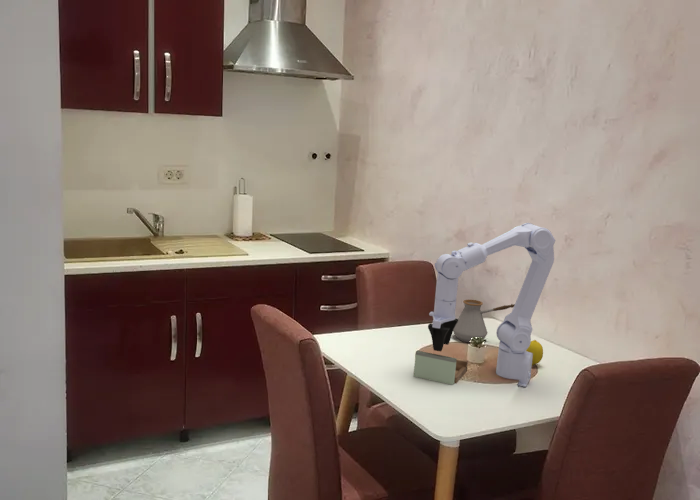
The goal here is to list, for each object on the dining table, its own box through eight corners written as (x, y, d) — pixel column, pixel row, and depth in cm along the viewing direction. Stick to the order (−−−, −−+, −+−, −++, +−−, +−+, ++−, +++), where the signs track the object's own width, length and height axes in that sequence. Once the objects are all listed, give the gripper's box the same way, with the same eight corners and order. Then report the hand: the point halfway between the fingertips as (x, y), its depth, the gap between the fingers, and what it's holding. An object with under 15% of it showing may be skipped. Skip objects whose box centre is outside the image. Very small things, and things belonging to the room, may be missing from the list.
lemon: (542, 369, 196) (545, 343, 194) (523, 367, 197) (526, 341, 196) (540, 363, 201) (543, 338, 200) (522, 361, 202) (525, 336, 201)
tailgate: (454, 383, 176) (456, 358, 175) (452, 384, 175) (455, 359, 174) (415, 374, 180) (417, 350, 179) (413, 376, 179) (415, 351, 178)
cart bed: (466, 375, 187) (467, 360, 186) (455, 388, 176) (457, 372, 176) (425, 367, 191) (427, 352, 191) (413, 379, 181) (414, 363, 180)
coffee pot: (447, 339, 219) (451, 295, 216) (458, 331, 229) (462, 289, 226) (511, 353, 209) (516, 307, 206) (519, 344, 219) (524, 300, 216)
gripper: (439, 291, 186) (434, 337, 189) (423, 302, 173) (418, 351, 175) (463, 295, 183) (459, 342, 186) (449, 306, 170) (444, 356, 173)
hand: (441, 347), depth 180 cm, fingers open, 6 cm apart
